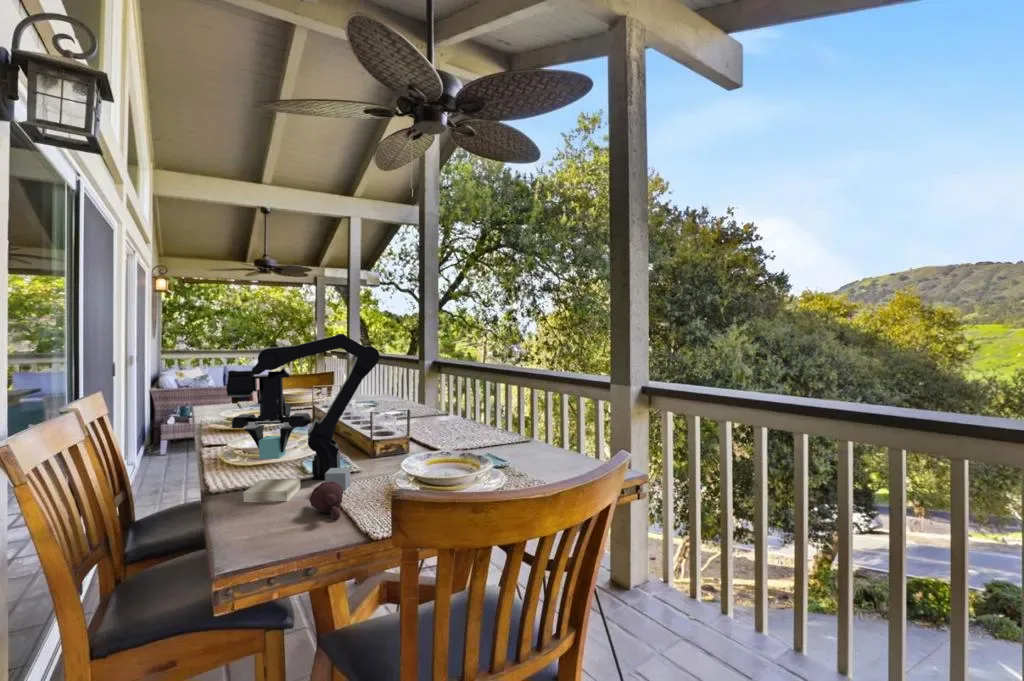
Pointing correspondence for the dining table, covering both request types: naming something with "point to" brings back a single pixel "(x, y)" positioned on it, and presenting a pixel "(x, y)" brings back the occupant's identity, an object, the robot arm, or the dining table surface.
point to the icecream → (327, 498)
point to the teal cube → (270, 448)
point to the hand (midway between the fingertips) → (272, 452)
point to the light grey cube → (339, 476)
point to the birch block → (272, 490)
